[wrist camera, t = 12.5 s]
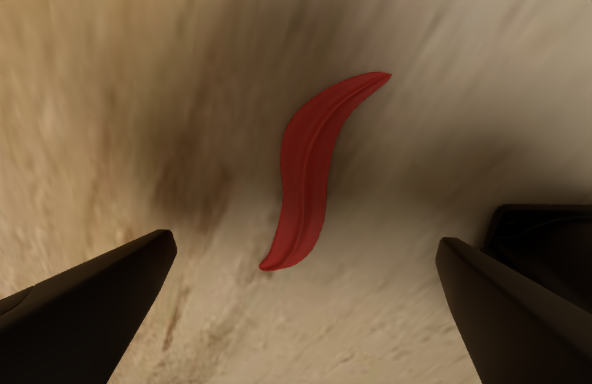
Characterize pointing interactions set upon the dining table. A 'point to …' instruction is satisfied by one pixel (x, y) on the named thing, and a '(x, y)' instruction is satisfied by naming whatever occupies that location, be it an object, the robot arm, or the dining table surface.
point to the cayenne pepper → (312, 166)
